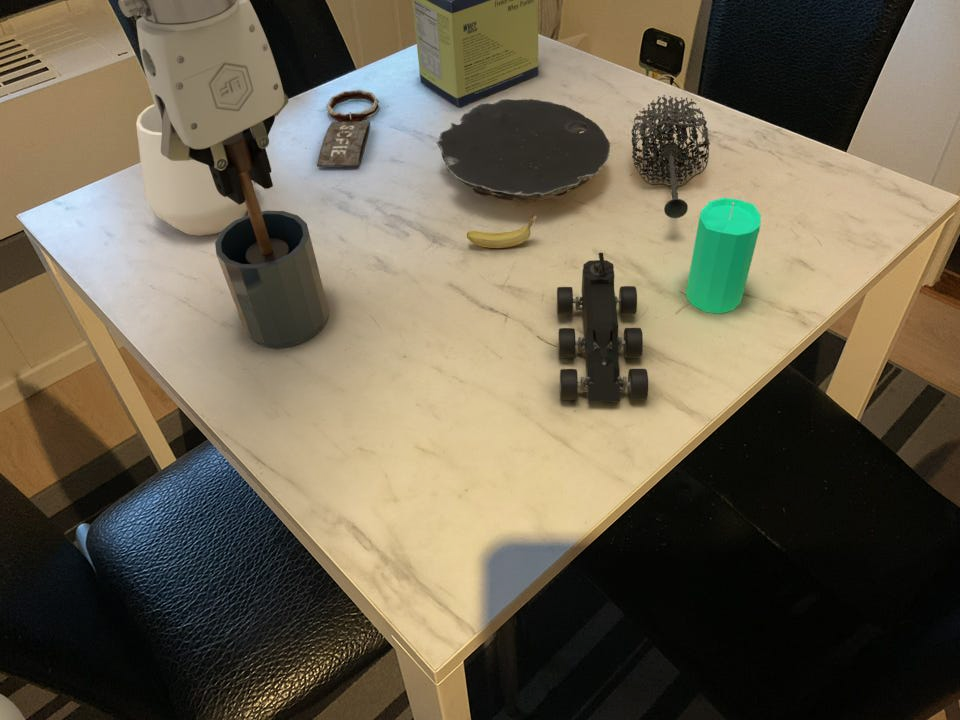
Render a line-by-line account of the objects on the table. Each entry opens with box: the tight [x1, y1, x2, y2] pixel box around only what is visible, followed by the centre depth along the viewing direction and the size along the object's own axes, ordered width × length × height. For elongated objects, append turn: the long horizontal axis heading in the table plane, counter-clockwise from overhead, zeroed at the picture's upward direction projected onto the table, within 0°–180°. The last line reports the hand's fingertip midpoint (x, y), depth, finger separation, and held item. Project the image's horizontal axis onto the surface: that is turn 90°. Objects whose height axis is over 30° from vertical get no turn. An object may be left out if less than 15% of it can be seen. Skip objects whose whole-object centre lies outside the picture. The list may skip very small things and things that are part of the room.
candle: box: [685, 197, 762, 315], centre depth 82 cm, size 6×6×12 cm
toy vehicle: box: [556, 252, 649, 403], centre depth 78 cm, size 8×15×9 cm, turn 178°
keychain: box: [316, 89, 380, 168], centre depth 113 cm, size 8×19×2 cm, turn 177°
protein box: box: [411, 0, 540, 108], centre depth 117 cm, size 10×16×16 cm
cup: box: [135, 103, 256, 237], centre depth 96 cm, size 13×13×14 cm
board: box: [436, 98, 611, 203], centre depth 102 cm, size 22×22×5 cm
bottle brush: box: [222, 132, 290, 264], centre depth 77 cm, size 4×4×17 cm
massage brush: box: [631, 94, 711, 219], centre depth 97 cm, size 9×22×9 cm, turn 174°
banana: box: [466, 213, 537, 249], centre depth 93 cm, size 8×2×4 cm, turn 94°
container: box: [214, 210, 330, 349], centre depth 83 cm, size 9×9×11 cm
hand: (247, 189), depth 75 cm, fingers closed on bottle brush, 2 cm apart
